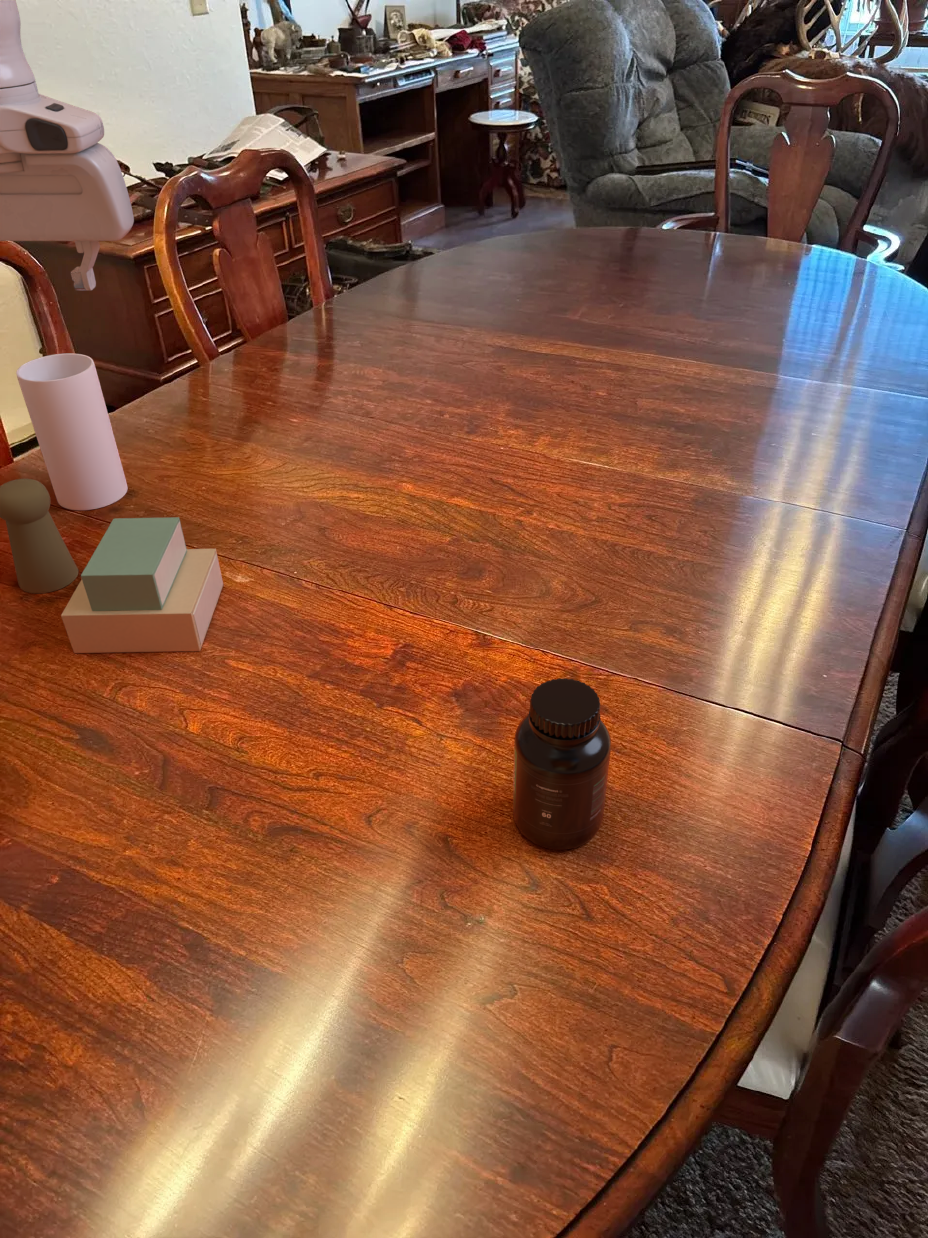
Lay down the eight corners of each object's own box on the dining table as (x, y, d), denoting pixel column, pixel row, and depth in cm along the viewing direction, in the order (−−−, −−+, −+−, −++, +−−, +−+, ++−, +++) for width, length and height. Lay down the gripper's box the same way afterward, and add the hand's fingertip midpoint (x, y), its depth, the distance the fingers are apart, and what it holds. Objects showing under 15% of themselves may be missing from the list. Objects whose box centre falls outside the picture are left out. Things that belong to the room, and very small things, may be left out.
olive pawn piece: (90, 570, 98) (61, 479, 92) (44, 599, 94) (10, 506, 88) (52, 555, 101) (21, 465, 94) (6, 583, 97) (-30, 491, 90)
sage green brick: (91, 611, 85) (80, 575, 83) (123, 552, 93) (113, 518, 91) (162, 610, 85) (153, 574, 83) (187, 551, 93) (179, 516, 90)
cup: (72, 517, 107) (30, 387, 98) (47, 491, 113) (5, 365, 103) (138, 494, 112) (105, 367, 102) (111, 470, 117) (77, 347, 107)
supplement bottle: (495, 827, 70) (496, 710, 62) (540, 771, 74) (546, 656, 67) (575, 868, 66) (586, 750, 59) (618, 807, 71) (632, 690, 64)
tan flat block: (73, 653, 87) (60, 615, 85) (108, 586, 96) (97, 550, 93) (201, 651, 87) (192, 613, 84) (224, 584, 96) (216, 548, 93)
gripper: (-153, 129, 75) (-92, 299, 84) (96, 129, 75) (133, 299, 84) (-115, 116, 80) (-60, 278, 89) (119, 116, 80) (152, 278, 89)
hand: (35, 288), depth 86 cm, fingers open, 8 cm apart
